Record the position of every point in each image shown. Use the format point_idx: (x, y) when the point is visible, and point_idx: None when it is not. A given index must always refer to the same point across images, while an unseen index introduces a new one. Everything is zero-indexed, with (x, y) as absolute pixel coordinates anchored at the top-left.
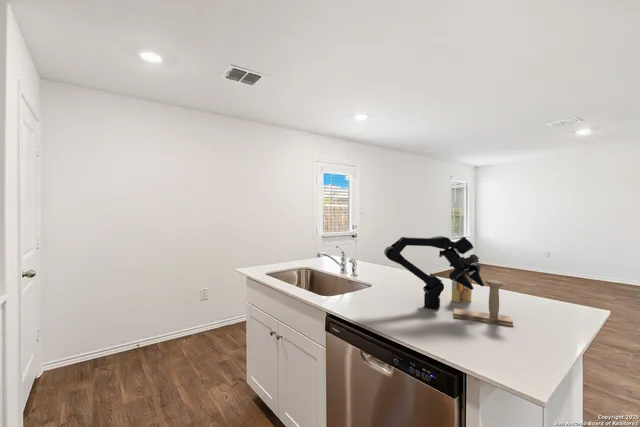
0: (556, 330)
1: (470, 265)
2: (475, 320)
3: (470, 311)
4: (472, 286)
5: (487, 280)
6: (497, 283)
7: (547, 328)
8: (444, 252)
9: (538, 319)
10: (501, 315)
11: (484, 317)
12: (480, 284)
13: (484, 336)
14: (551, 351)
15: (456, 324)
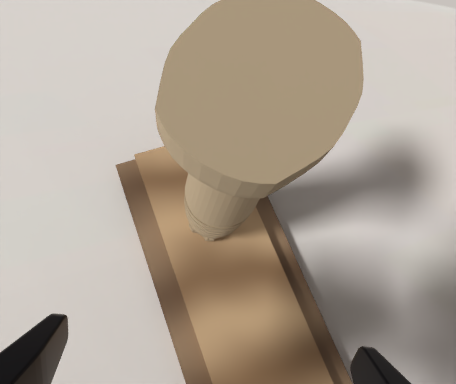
0: (141, 13)
1: None
2: (307, 289)
3: (225, 363)
4: (383, 367)
5: (283, 163)
6: (347, 26)
7: (141, 37)
8: None
9: (25, 68)
10: (159, 192)
11: (269, 252)
12: (51, 371)
13: (434, 197)
14: (359, 25)
15: (427, 347)
